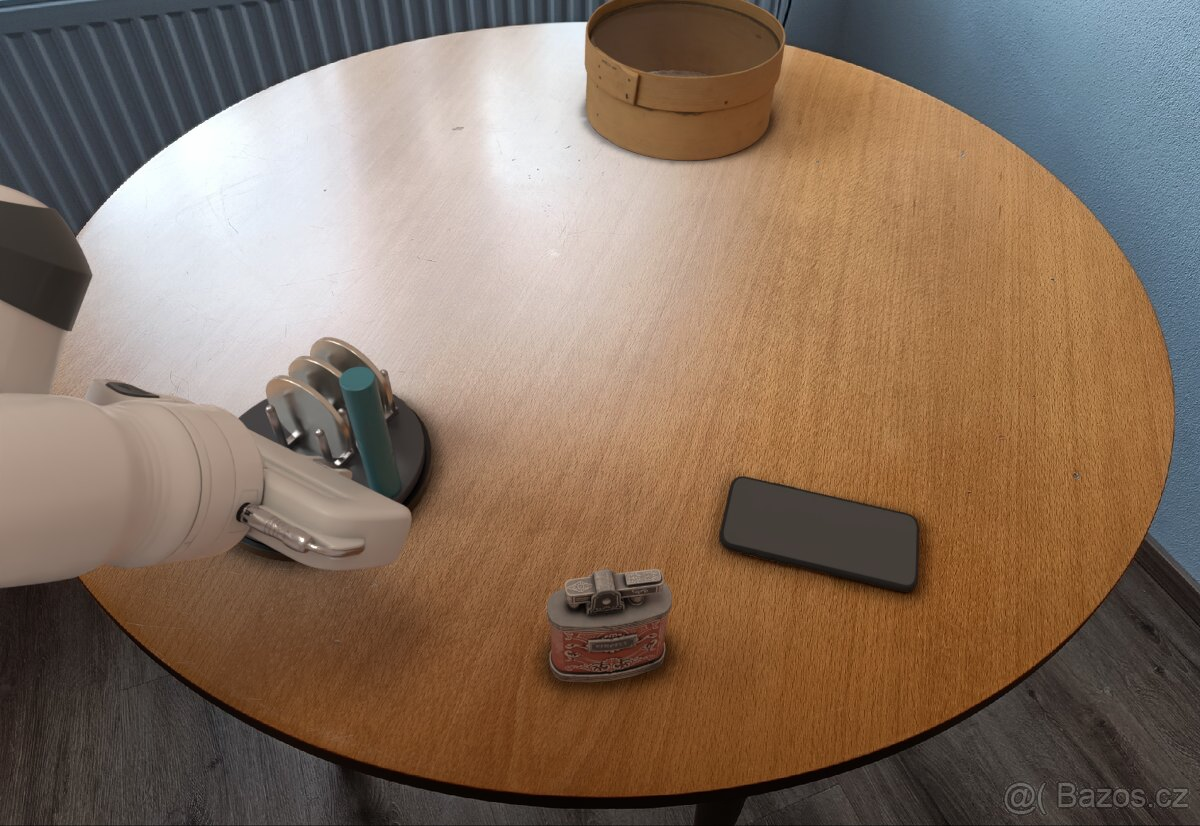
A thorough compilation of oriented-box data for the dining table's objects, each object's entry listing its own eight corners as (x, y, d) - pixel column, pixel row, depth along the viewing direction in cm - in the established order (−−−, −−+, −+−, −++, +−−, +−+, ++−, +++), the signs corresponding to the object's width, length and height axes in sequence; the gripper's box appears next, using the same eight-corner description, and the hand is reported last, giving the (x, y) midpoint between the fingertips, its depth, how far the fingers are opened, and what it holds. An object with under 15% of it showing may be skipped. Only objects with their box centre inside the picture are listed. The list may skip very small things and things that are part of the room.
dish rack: (330, 583, 62) (285, 469, 53) (164, 491, 68) (97, 374, 59) (466, 433, 73) (448, 315, 63) (312, 364, 78) (275, 247, 69)
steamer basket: (636, 180, 102) (640, 89, 94) (554, 90, 118) (552, 5, 110) (809, 138, 110) (827, 50, 102) (710, 59, 125) (719, -23, 117)
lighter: (552, 688, 58) (548, 612, 51) (547, 643, 61) (542, 564, 53) (669, 672, 59) (681, 595, 52) (659, 628, 61) (669, 548, 54)
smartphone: (919, 592, 63) (717, 543, 65) (915, 598, 63) (715, 550, 66) (920, 514, 68) (732, 471, 70) (917, 521, 68) (731, 478, 71)
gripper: (343, 502, 44) (470, 490, 57) (74, 367, 51) (243, 384, 64) (304, 614, 45) (438, 577, 58) (43, 465, 51) (216, 462, 64)
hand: (334, 474), depth 61 cm, fingers closed
